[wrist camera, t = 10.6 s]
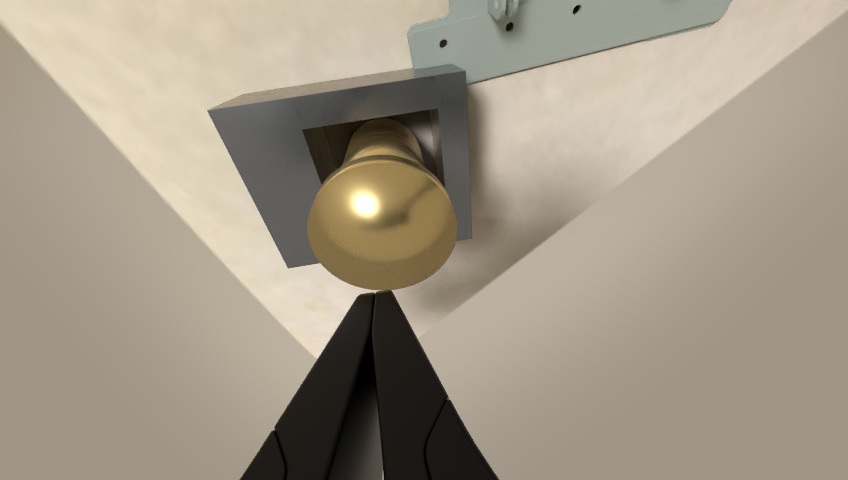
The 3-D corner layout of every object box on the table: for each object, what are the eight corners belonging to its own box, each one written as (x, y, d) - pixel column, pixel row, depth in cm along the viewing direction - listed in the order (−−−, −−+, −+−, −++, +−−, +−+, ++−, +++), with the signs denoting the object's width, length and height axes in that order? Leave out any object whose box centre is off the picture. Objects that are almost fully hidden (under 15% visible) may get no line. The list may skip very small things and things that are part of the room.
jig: (449, 62, 14) (465, 70, 12) (458, 207, 19) (471, 238, 16) (242, 94, 14) (207, 110, 11) (302, 232, 19) (288, 268, 16)
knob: (423, 101, 15) (452, 154, 9) (433, 189, 18) (460, 278, 12) (326, 116, 15) (282, 180, 9) (351, 202, 18) (332, 299, 12)
